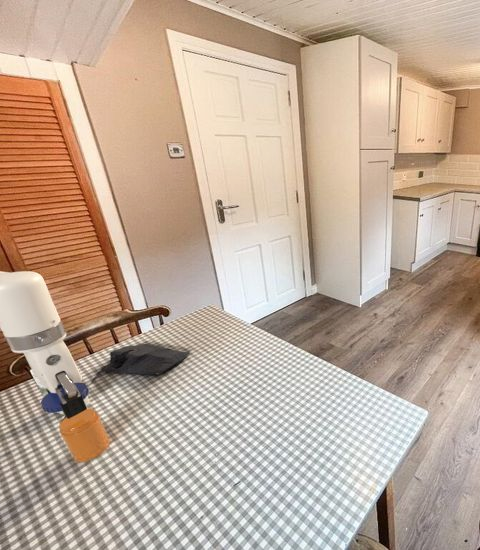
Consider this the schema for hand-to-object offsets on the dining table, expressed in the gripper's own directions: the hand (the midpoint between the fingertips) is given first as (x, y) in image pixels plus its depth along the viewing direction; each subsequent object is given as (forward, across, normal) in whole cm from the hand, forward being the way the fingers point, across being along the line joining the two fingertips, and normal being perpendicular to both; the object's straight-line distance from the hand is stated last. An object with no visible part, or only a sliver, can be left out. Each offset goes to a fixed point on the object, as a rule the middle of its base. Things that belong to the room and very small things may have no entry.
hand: (69, 405), depth 65 cm
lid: (-3, 0, 0) cm, 3 cm away
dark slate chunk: (+13, +22, -23) cm, 35 cm away
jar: (+13, 0, 0) cm, 13 cm away
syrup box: (+14, +19, -3) cm, 23 cm away
